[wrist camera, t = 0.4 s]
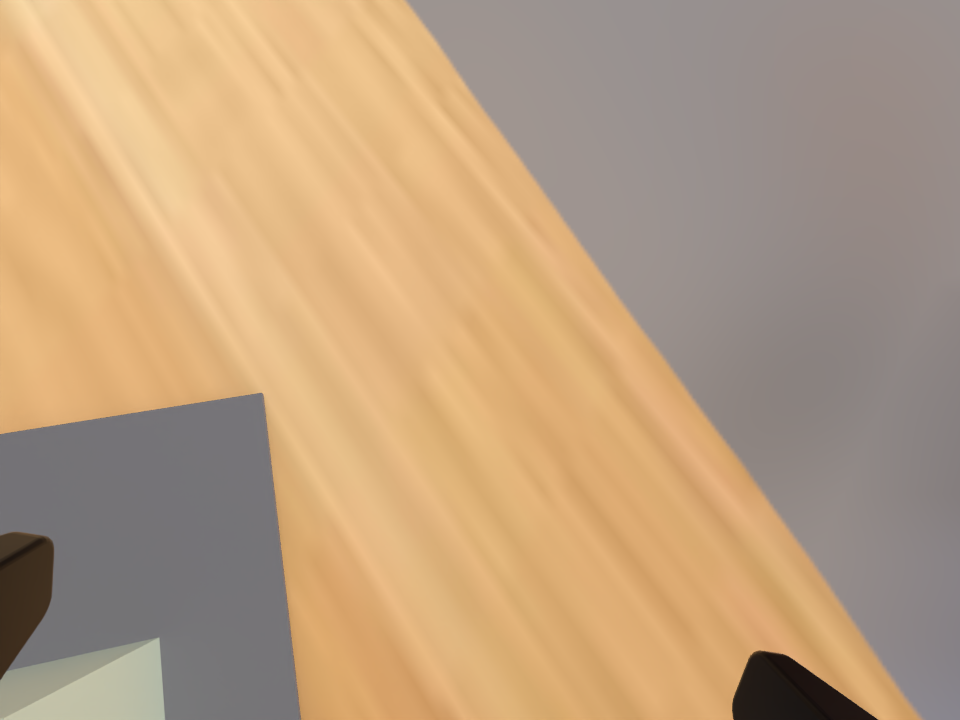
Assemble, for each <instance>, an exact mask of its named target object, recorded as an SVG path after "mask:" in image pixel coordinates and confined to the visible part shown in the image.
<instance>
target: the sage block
mask: <svg viewBox="0 0 960 720" xmlns="http://www.w3.org/2000/svg"><path fill="white" fill-rule="evenodd" d="M0 720H165V712H164V697H163V683H162V669H161V654H160V640H159V638H154V639H150V640H145V641H141V642H136V643H132V644H127V645H123V646H118V647H113V648H109V649H104V650H100V651H95V652H91V653H86V654H82V655H77V656H73V657H68V658H64V659H59V660H55V661H50V662H46V663H41V664H37V665H32V666H28V667H23V668H19V669H14V670H10V671H6V673H5V674H4V676H3V677H2V679H1V680H0Z"/></svg>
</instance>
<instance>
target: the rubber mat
mask: <svg viewBox="0 0 960 720" xmlns="http://www.w3.org/2000/svg"><path fill="white" fill-rule="evenodd" d="M10 532H24V533H30V534H36V535H43V536H47V537H49V538H50V539H51V540H52V541H53V544H54V567H53V587H52V598H51V602H50V605H49V608H48V610H47V612H46V614H45V616H44V617H43V619H42V621H41V622H40V624H39V625H38V626H37V628H36V629H35V631H34V632H33V634H32V635H31V637H30V638H29V640H28V641H27V642H26V644H25V645H24V647H23V648H22V650H21V651H20V653H19V654H18V655H17V657H16V658H15V660H14V661H13V663H12V664H11V666H10V667H9V669H8V670H7V671H10V670H14V669H19V668H23V667H28V666H32V665H37V664H41V663H46V662H50V661H55V660H59V659H64V658H68V657H73V656H77V655H82V654H86V653H91V652H95V651H100V650H104V649H109V648H113V647H118V646H123V645H127V644H132V643H136V642H141V641H145V640H150V639H154V638H159V640H160V654H161V669H162V683H163V697H164V712H165V720H301V716H300V708H299V699H298V690H297V682H296V673H295V664H294V656H293V647H292V638H291V630H290V621H289V613H288V604H287V595H286V587H285V578H284V569H283V561H282V552H281V543H280V535H279V526H278V517H277V509H276V500H275V491H274V483H273V474H272V465H271V457H270V448H269V439H268V431H267V422H266V413H265V405H264V396H263V394H262V393H258V394H251V395H245V396H239V397H233V398H226V399H220V400H214V401H207V402H201V403H195V404H188V405H182V406H176V407H169V408H163V409H157V410H150V411H144V412H138V413H131V414H125V415H119V416H112V417H106V418H100V419H93V420H87V421H81V422H75V423H68V424H62V425H56V426H49V427H43V428H37V429H30V430H24V431H18V432H11V433H5V434H0V535H3V534H6V533H10Z"/></svg>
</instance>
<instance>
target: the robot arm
mask: <svg viewBox="0 0 960 720" xmlns="http://www.w3.org/2000/svg"><path fill="white" fill-rule="evenodd" d="M53 567H54V544H53V541H52V540H51V539H50V538H49V537H47V536H43V535H36V534H30V533H24V532H10V533H6V534H3V535H0V680H1V679H2V677H3V676H4V674H5V673H6V671H7V670H8V669H9V667H10V666H11V664H12V663H13V661H14V660H15V658H16V657H17V655H18V654H19V653H20V651H21V650H22V648H23V647H24V645H25V644H26V642H27V641H28V640H29V638H30V637H31V635H32V634H33V632H34V631H35V629H36V628H37V626H38V625H39V624H40V622H41V621H42V619H43V617H44V616H45V614H46V612H47V610H48V608H49V605H50V602H51V598H52V587H53ZM732 713H733V719H734V720H878V719H876V718H875V717H874V716H872V715H871V714H869V713H868V712H867V711H865V710H864V709H862V708H861V707H859V706H858V705H857V704H855V703H854V702H852V701H851V700H850V699H848V698H847V697H845V696H844V695H843V694H841V693H840V692H838V691H837V690H835V689H834V688H833V687H831V686H830V685H828V684H827V683H826V682H824V681H823V680H821V679H820V678H819V677H817V676H816V675H814V674H813V673H811V672H810V671H809V670H807V669H806V668H804V667H803V666H802V665H800V664H799V663H797V662H796V661H795V660H793V659H792V658H790V657H789V656H787V655H784V654H779V653H773V652H767V651H756V652H754V653H753V654H752V655H751V656H750V657H749V659H748V662H747V664H746V667H745V670H744V672H743V675H742V677H741V680H740V682H739V685H738V687H737V690H736V692H735V695H734V698H733V704H732Z"/></svg>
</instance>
